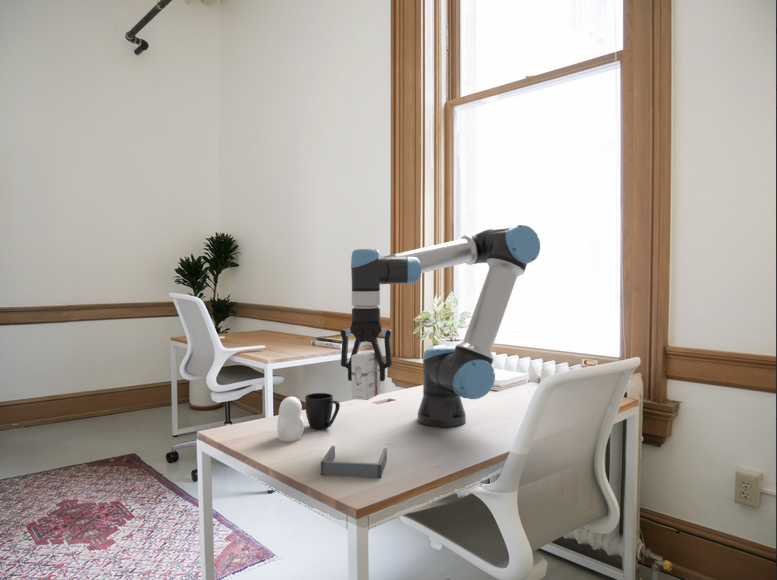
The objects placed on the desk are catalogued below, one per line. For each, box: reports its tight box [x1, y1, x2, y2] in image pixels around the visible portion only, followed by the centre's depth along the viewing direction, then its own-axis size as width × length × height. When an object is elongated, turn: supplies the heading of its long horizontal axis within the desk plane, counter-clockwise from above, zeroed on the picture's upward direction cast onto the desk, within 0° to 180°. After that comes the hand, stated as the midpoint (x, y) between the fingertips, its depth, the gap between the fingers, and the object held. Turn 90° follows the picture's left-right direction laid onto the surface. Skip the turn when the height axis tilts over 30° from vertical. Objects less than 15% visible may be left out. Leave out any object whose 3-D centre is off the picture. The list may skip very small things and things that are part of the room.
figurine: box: [276, 396, 305, 442], centre depth 154 cm, size 7×8×12 cm
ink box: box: [350, 350, 380, 401], centre depth 147 cm, size 9×5×12 cm, turn 155°
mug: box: [304, 392, 341, 431], centre depth 164 cm, size 8×12×10 cm
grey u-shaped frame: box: [320, 445, 388, 479], centre depth 132 cm, size 14×12×3 cm
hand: (366, 392), depth 148 cm, fingers closed on ink box, 6 cm apart
